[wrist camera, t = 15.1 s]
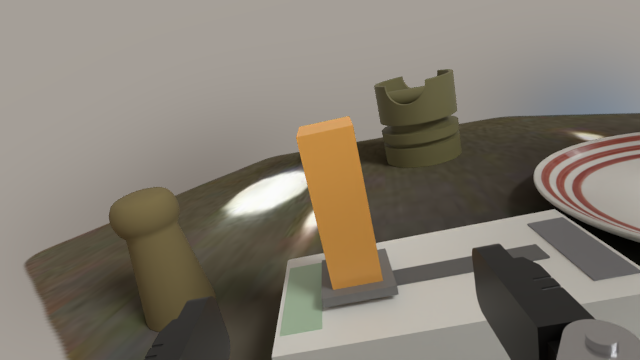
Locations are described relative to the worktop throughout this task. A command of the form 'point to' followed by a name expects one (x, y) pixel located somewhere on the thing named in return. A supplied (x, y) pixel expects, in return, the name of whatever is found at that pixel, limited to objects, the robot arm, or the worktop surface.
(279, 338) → the box
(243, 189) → the worktop surface
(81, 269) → the worktop surface
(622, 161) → the dinner plate
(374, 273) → the handle
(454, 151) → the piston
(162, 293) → the olive pawn figure
